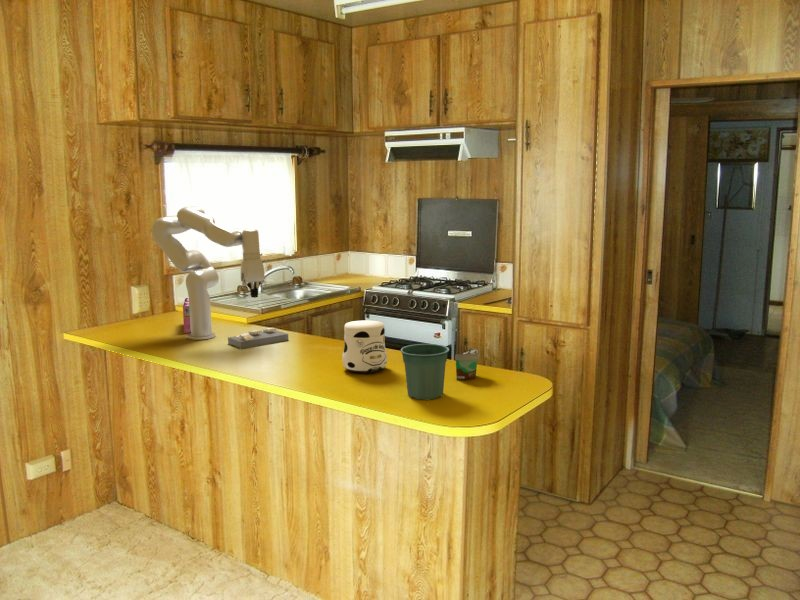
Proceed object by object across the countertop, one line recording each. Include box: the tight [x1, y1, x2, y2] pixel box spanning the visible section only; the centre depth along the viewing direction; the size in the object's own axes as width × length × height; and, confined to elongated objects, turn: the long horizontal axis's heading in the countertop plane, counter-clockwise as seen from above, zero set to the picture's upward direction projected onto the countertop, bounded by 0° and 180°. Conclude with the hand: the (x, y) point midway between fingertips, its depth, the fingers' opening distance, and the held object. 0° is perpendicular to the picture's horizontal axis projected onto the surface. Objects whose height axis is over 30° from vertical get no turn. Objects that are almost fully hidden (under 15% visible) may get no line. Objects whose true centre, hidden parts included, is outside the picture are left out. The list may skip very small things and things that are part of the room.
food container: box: [454, 347, 480, 382], centre depth 262 cm, size 12×6×10 cm, turn 148°
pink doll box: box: [182, 297, 191, 334], centre depth 353 cm, size 24×8×14 cm, turn 13°
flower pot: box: [400, 343, 450, 401], centre depth 242 cm, size 16×16×16 cm
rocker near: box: [239, 332, 254, 341], centre depth 315 cm, size 6×4×2 cm, turn 40°
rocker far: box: [262, 327, 277, 332], centre depth 329 cm, size 6×4×2 cm, turn 40°
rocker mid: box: [247, 329, 263, 334], centre depth 324 cm, size 6×4×2 cm, turn 40°
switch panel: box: [227, 329, 289, 350], centre depth 322 cm, size 12×24×3 cm, turn 130°
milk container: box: [341, 320, 388, 374], centre depth 274 cm, size 17×17×18 cm
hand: (254, 297), depth 321 cm, fingers closed
